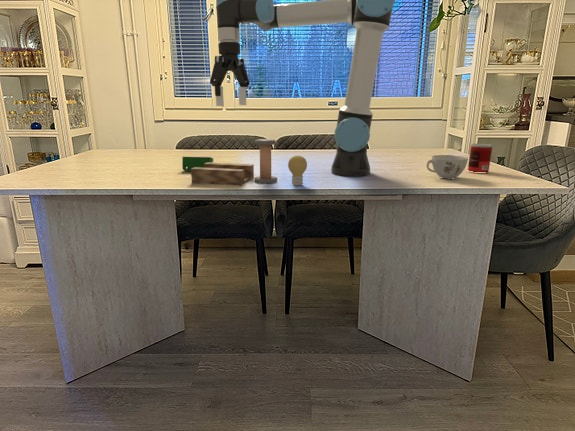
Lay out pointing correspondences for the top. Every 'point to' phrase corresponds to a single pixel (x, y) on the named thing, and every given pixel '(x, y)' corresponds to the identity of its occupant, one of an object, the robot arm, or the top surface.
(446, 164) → the teacup
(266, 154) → the bobbin
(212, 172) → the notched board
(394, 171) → the top surface
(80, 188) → the top surface
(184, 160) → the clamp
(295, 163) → the light bulb
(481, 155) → the canned food
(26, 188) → the top surface
